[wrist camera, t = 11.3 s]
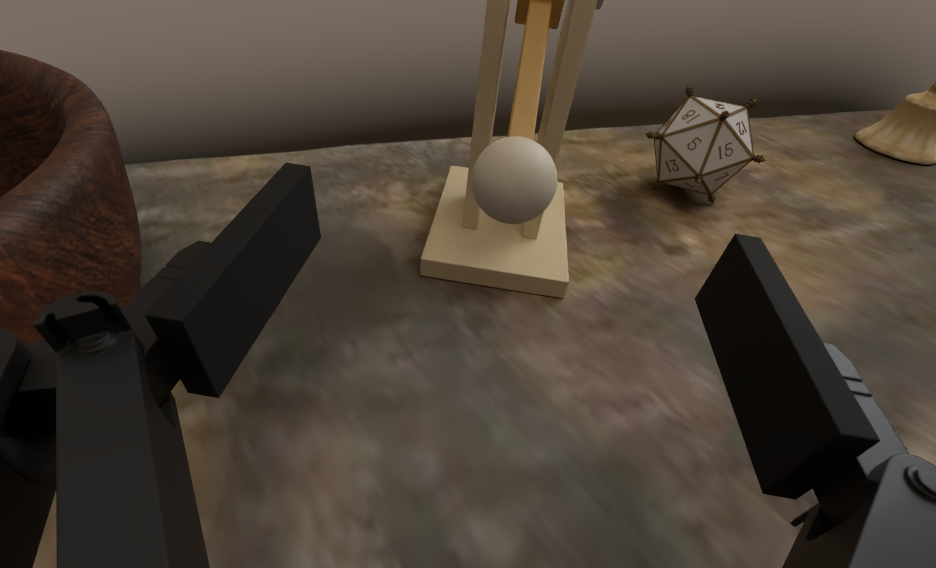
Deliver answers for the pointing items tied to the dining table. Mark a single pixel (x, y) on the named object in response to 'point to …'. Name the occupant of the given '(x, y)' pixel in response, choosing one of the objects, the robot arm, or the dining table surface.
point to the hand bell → (906, 130)
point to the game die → (703, 144)
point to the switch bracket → (458, 215)
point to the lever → (521, 132)
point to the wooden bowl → (59, 196)
